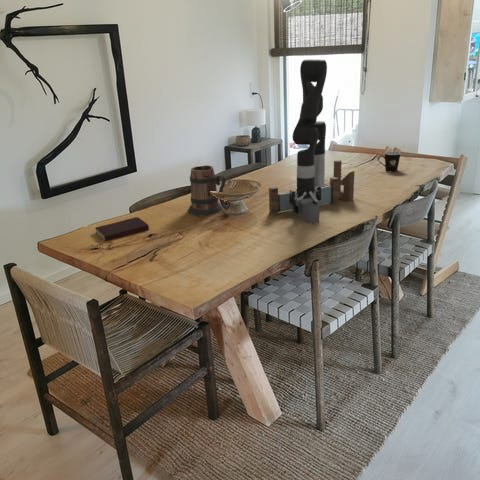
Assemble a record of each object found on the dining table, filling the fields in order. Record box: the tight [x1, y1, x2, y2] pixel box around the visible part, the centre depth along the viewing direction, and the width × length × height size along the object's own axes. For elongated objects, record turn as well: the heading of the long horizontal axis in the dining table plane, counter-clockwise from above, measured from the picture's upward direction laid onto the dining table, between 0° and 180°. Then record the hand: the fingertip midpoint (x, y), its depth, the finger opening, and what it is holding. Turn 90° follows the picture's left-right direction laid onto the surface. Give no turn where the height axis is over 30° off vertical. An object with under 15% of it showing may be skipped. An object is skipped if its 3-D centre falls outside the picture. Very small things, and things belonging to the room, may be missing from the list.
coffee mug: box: [377, 151, 402, 173], centre depth 270 cm, size 12×9×10 cm
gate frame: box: [268, 176, 340, 216], centre depth 216 cm, size 3×34×12 cm, turn 111°
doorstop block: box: [291, 197, 320, 225], centre depth 206 cm, size 16×4×7 cm, turn 21°
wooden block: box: [332, 159, 355, 202], centre depth 225 cm, size 4×11×18 cm, turn 40°
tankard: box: [187, 164, 231, 217], centre depth 218 cm, size 24×17×20 cm
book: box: [95, 216, 150, 242], centre depth 201 cm, size 12×19×3 cm, turn 124°
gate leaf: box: [278, 185, 331, 213], centre depth 217 cm, size 2×27×8 cm, turn 111°
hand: (305, 211), depth 206 cm, fingers open, 8 cm apart
